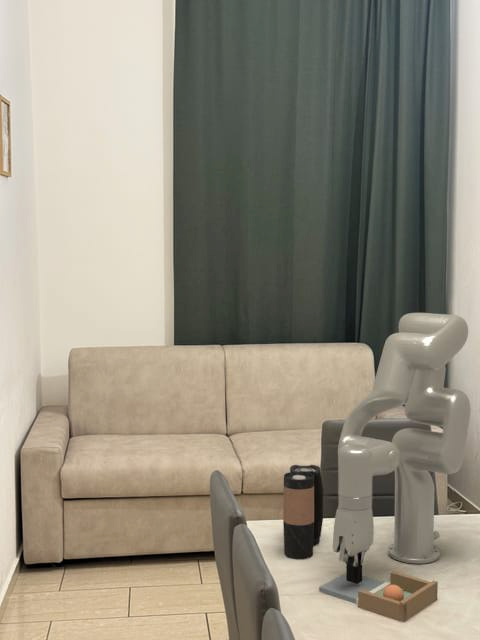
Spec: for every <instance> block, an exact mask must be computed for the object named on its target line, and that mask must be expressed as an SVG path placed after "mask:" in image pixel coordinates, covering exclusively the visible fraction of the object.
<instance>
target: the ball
mask: <svg viewBox="0 0 480 640" xmlns="http://www.w3.org/2000/svg"><path fill="white" fill-rule="evenodd" d="M383 596H384V597H387V598H390V599H393V600H397V601H402V600H403V599H404V593H403V591H402V589H401V588H400V587H399V586H397V585H389V586H387V587H386V588H385V589H384V591H383Z"/></svg>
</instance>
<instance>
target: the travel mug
mask: <svg viewBox="0 0 480 640" xmlns="http://www.w3.org/2000/svg"><path fill="white" fill-rule="evenodd" d="M282 503H283V507H282V508H283V511H282V513H283V514H282V515H283V517H282V518H283V520H282V521H283V524H282V525H283V553H284V556H286V557H287V558H288V559H293V560H306V559H309V558H311V557H313V555H314V546H313V540H314V475H313V474H311V473H308V472H299V473H297V474H291V473H290V472H285V474H284V475H283V501H282Z"/></svg>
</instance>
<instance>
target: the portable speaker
mask: <svg viewBox="0 0 480 640" xmlns="http://www.w3.org/2000/svg"><path fill="white" fill-rule="evenodd" d="M289 471H290V473H291V474H297V473H299V472H308V473H311V474H313V475H314V540H313V547H315V546H316V545H319V544H320V540H321V539H320V538H321V536H322V530H323V523H324V522H323V521H324V488H323V487H324V486H323V479H322V473H321V467H320V466H319V465H315V464H310V465H298V464H293V465H291V466H290V467H289Z"/></svg>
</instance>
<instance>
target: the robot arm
mask: <svg viewBox="0 0 480 640" xmlns="http://www.w3.org/2000/svg"><path fill="white" fill-rule="evenodd" d="M468 337H469V326H468V323H467V321H466V319H465V318H463V317H461V316H460V315H456V314H445V313H444V314H443V313H431V312H430V313H429V312H410V313H406V314H403V316H402V317H400V319H399V322H398V332H395V333H393V334H390V335H389V336H388V337H387V338H386V339H385V343H384V345H383V349H382V353H381V356H380V360H379V364H378V368H377V370H376V371H377V372H376V374H375V378H374V382H373V386H372V389H371V391H369V393H368V395H367V396H365V397H364V398H363V399H361V400H360V401H359V402H358V403H357V404H356V405H355V406H354V407H353V409H351V411H350V412H349V413H348V415H347V417H346V419H345V421H344V423H343V426H342V430H341V432H340V437H339V441H338V446H337V458H338V459H337V460H338V461H337V462H338V463H337V467H338V468H337V475H338V476H337V509H336V512H335V517H334V522H333V525H334V526H333V533H332V535H333V537H332V538H333V539H332V550H333V552H334V553H339V554H338V561H340V562H342V563H344V564H345V569H346V570H345V573H346V580H347V581H350V582H353V583H356V584H358V583H359V582H362V575H363V564H364V563H365V555H366V553H367V552H368V551H369V550H370V547H371V546H373V544H374V537H375V536H374V534H375V533H374V532H375V530H374V529H375V526H374V513H373V478H374V476H375V477H376V476H384V475H388V474H390V473H393V472H394V531H393V532H394V534H393V535H394V536H393V538H394V539H393V543H391V544H390V545H389V546H388V547H387V554H388V556H389V557H391V558H392V559H394V560H395V561H398V562H403V563H406V564H407V563H408V564H429V563H433V562H436V561H437V560H438V559H439V558H440V555H441V554H440V553H441V552H440V550H439V548H437V547H436V546H434V542H435V541H436V540H437V539H439V538H440V533H439V532H438V531H436V530H435V528H434V527H435V525H434V524H435V522H434V521H435V484H434V480H433V478H432V475H431V473H432V472H433V473H438V474H444V475H452V474H456V473H457V472H458V471H459V470H460V469H461V467H462V465H463V461H464V457H465V453H466V445H467V438H468V432H469V427H470V421H471V419H470V418H471V401H470V399H469V397H468V395H467V394H466V393H465V392H464V391H463V390H461V389H460V390H459V389H456V388H449V387H444V386H445V377H446V365H447V364H448V363H449V362H450V361H451V360H452V359H453V358H454V357H455V356H456V355H457V354H458V353H459V352H460V351H461V350H462V349H463V348H464V346H465V344H466V342H467V340H468ZM402 406H404V414H405V416H406V418H407V420H409V421H410V422H412V423H416V424H421V425H425V426H426V425H428V426H433V427H440V428H442V432H440V431H438V432H437V431H433V430H428V429H427V430H426V429H421V428H416V427H415V428H413V427H408V428H406V427H405V428H403V429H400V430H398V431H396V433H395V434H394V435H393V438H392V439H391V441H388V440H384V439H378V438H377V439H376V438H373V437H369V436H362V434H363V431H364V429H365V428H366V425H367V424H368V423H369V422H370V421H371V420H372V419H373V418H374V417H377V416H378V415H380V414H383V413H385V412H387V411H390V410H393V409H396V408H399V407H402ZM430 472H431V473H430Z"/></svg>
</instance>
